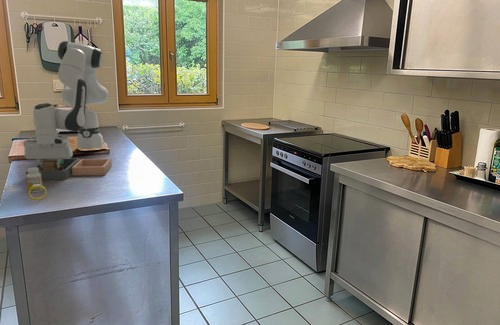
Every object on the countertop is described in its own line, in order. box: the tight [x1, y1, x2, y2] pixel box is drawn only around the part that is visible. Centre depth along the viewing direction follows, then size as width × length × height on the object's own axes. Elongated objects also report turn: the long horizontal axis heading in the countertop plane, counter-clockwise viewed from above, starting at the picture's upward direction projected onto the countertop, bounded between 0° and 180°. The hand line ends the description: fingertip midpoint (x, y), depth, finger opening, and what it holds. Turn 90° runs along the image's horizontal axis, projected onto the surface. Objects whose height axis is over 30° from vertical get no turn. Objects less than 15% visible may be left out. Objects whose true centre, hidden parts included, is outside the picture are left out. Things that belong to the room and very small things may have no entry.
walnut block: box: [42, 159, 58, 171], centre depth 174 cm, size 5×5×5 cm
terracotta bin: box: [72, 158, 113, 176], centre depth 185 cm, size 16×15×4 cm
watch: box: [28, 184, 47, 201], centre depth 146 cm, size 6×3×6 cm, turn 119°
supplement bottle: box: [25, 166, 44, 193], centre depth 155 cm, size 5×5×10 cm
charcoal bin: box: [25, 157, 82, 181], centre depth 181 cm, size 24×17×4 cm
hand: (50, 167), depth 175 cm, fingers closed on walnut block, 5 cm apart
